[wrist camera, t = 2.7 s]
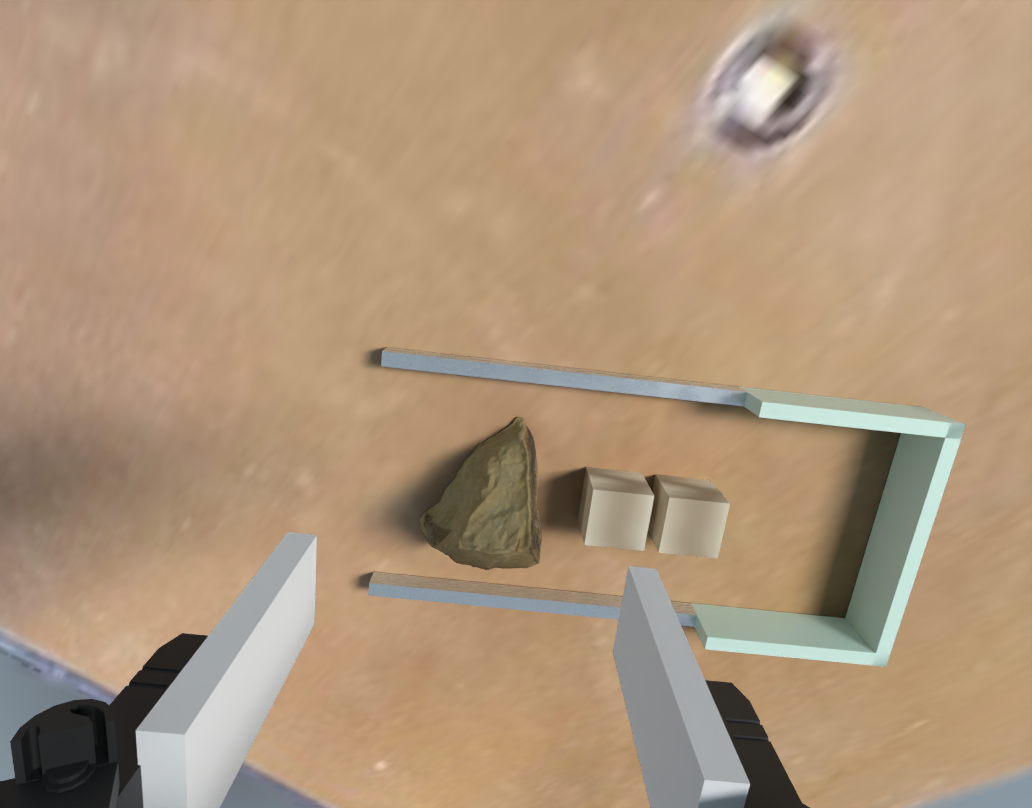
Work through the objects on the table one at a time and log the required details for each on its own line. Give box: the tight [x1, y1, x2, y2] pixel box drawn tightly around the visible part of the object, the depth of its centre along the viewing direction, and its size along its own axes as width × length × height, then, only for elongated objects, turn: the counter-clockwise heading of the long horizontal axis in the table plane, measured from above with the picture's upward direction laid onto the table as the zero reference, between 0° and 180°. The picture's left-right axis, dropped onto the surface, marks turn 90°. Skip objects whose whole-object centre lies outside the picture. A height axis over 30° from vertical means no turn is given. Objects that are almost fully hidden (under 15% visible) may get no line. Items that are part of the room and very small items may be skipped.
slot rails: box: [368, 347, 747, 627], centre depth 42 cm, size 24×18×2 cm
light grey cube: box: [578, 467, 654, 551], centre depth 41 cm, size 4×4×4 cm
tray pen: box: [691, 387, 966, 666], centre depth 41 cm, size 13×18×4 cm
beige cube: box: [648, 474, 730, 558], centre depth 41 cm, size 4×4×4 cm
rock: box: [419, 417, 542, 570], centre depth 40 cm, size 10×8×10 cm
